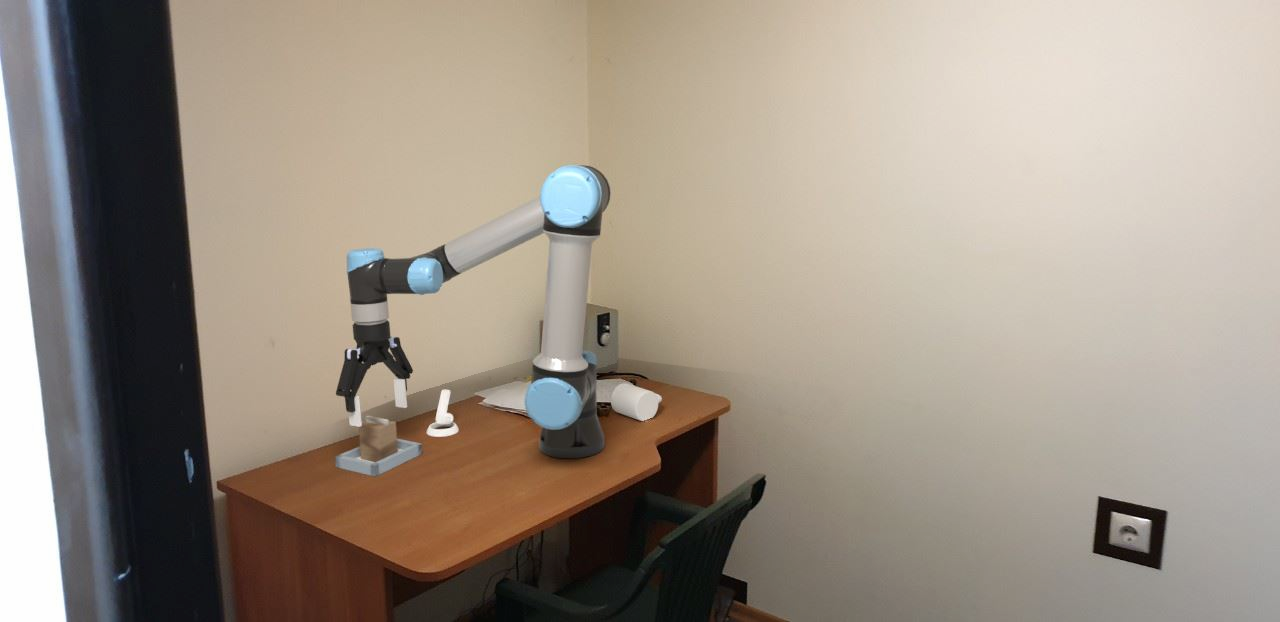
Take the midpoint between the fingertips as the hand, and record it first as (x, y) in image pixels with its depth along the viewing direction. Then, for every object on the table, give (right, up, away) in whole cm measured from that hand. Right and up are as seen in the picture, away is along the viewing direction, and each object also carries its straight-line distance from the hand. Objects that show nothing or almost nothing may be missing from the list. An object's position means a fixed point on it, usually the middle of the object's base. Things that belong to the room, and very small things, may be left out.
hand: (379, 416), depth 169 cm
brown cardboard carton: (-1, -10, +2) cm, 10 cm away
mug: (+57, -4, +33) cm, 66 cm away
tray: (-1, -10, +2) cm, 10 cm away
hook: (+9, -7, +21) cm, 23 cm away
